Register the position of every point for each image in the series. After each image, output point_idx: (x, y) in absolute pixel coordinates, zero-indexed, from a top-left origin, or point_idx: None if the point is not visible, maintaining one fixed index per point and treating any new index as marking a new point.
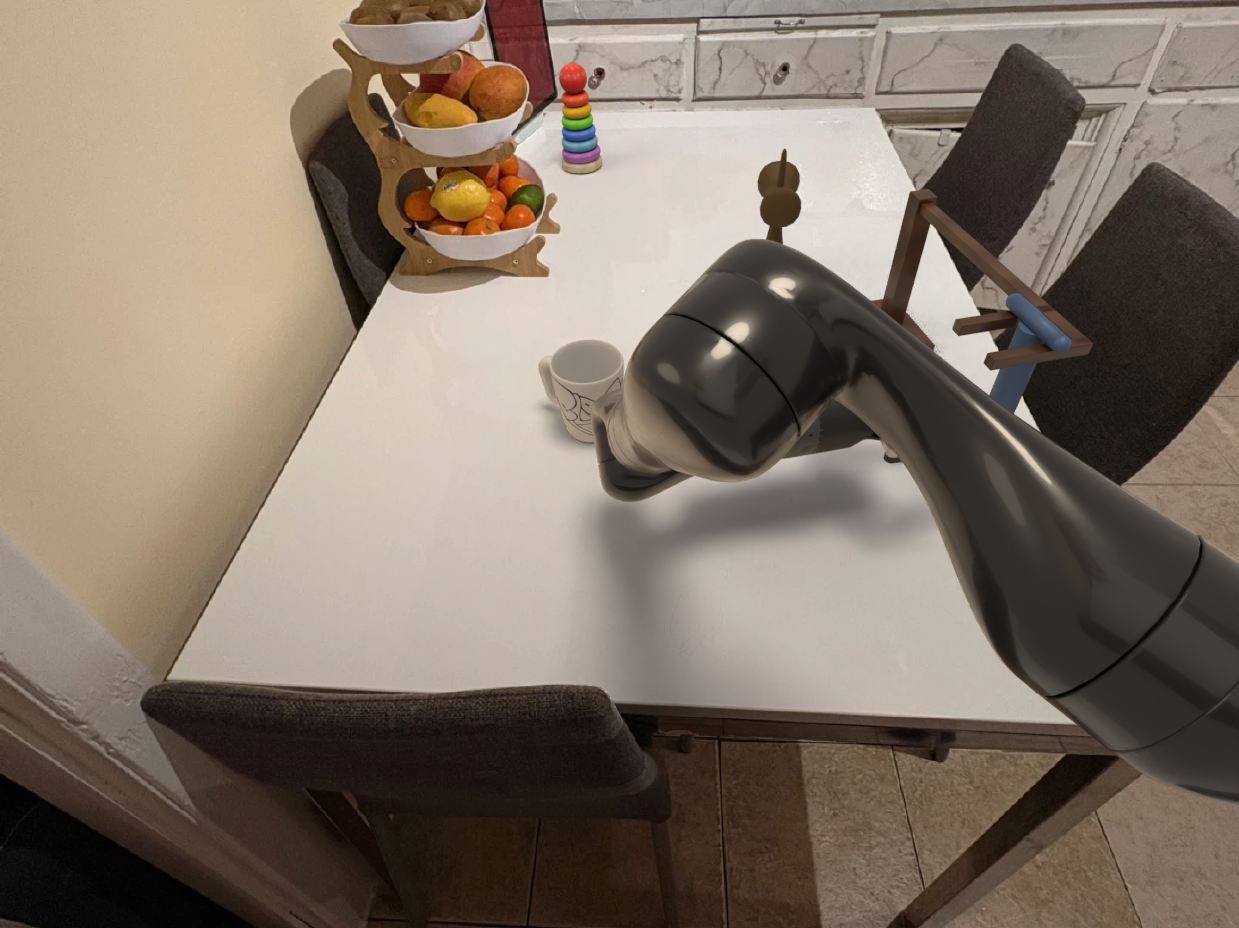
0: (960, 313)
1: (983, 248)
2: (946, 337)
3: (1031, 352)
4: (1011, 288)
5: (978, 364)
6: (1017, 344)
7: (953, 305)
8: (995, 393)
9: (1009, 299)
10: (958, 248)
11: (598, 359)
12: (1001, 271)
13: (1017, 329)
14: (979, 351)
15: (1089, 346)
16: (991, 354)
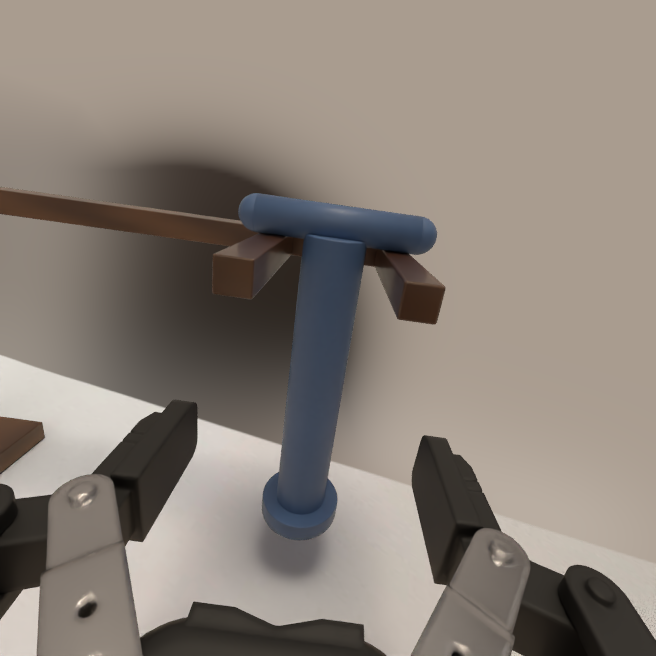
0: (34, 374)
1: (65, 196)
2: (44, 406)
3: (414, 262)
4: (194, 223)
5: (121, 410)
6: (337, 278)
7: (15, 371)
8: (316, 401)
9: (254, 204)
10: (4, 211)
11: None
12: (145, 209)
13: (321, 248)
14: (105, 397)
15: None
16: (417, 280)
